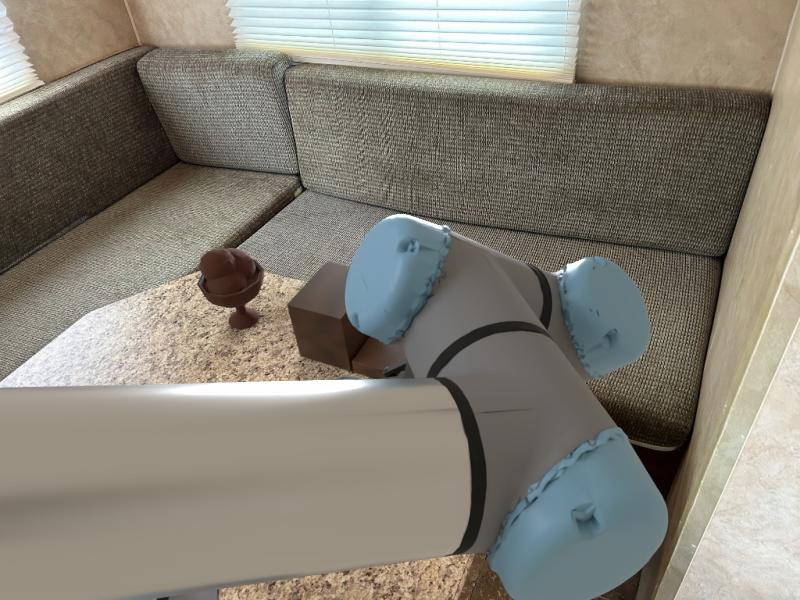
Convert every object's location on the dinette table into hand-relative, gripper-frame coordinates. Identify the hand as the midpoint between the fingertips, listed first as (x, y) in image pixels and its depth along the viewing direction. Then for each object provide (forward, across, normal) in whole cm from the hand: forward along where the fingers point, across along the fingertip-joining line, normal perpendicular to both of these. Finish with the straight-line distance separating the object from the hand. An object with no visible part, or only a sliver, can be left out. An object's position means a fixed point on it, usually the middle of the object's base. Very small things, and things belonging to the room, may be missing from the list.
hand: (327, 437), depth 66 cm
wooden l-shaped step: (+19, +28, -3) cm, 33 cm away
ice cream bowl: (+36, +26, +14) cm, 47 cm away
